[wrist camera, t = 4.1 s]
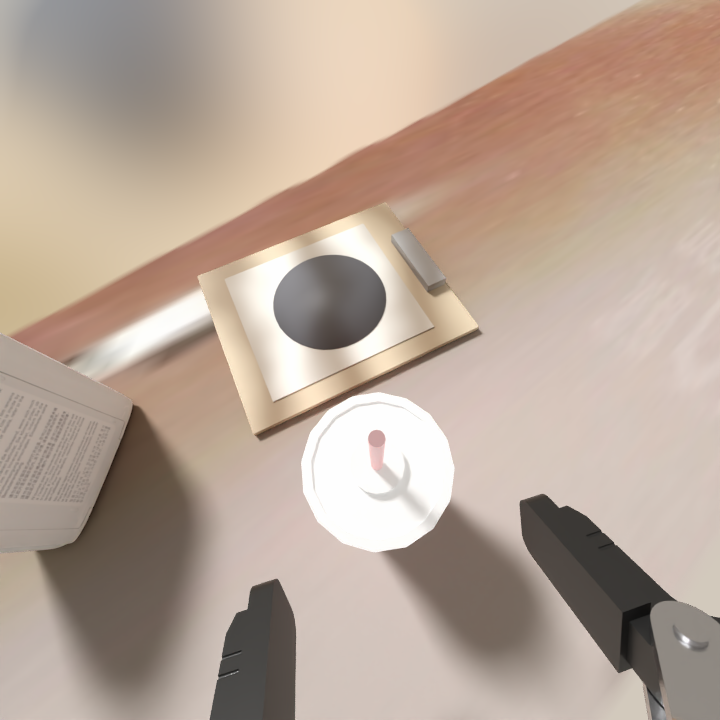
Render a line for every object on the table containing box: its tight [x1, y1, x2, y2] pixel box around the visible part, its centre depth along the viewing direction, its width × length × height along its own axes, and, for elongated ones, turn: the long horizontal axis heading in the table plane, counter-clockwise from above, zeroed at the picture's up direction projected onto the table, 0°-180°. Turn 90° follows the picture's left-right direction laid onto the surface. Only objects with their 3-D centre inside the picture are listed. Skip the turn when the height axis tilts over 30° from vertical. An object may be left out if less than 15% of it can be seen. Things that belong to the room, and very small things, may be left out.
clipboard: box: [197, 202, 479, 436], centre depth 27 cm, size 18×15×1 cm
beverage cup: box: [301, 392, 454, 552], centre depth 15 cm, size 6×6×14 cm
